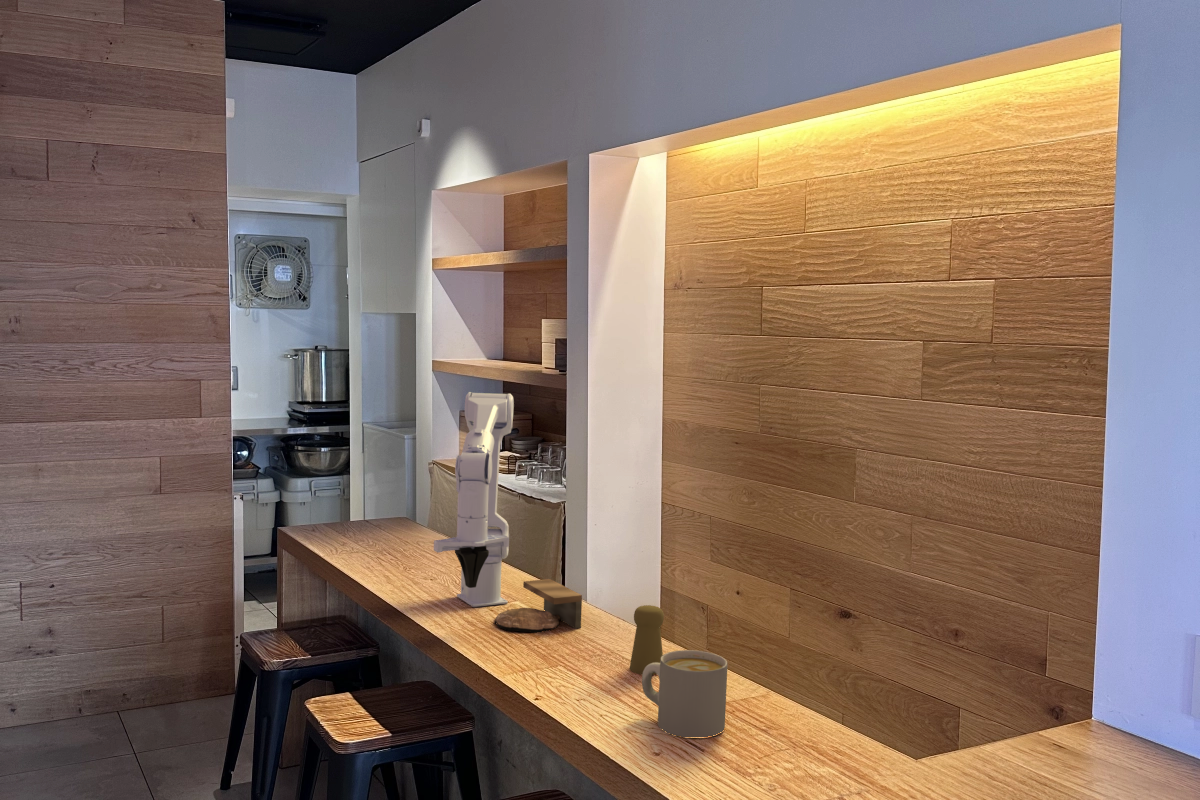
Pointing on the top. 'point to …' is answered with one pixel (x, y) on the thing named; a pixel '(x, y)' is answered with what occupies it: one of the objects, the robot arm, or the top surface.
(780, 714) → the top surface
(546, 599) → the walnut shelf
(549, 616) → the shell
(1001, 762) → the top surface
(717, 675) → the coffee mug
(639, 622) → the olive pepper mill
